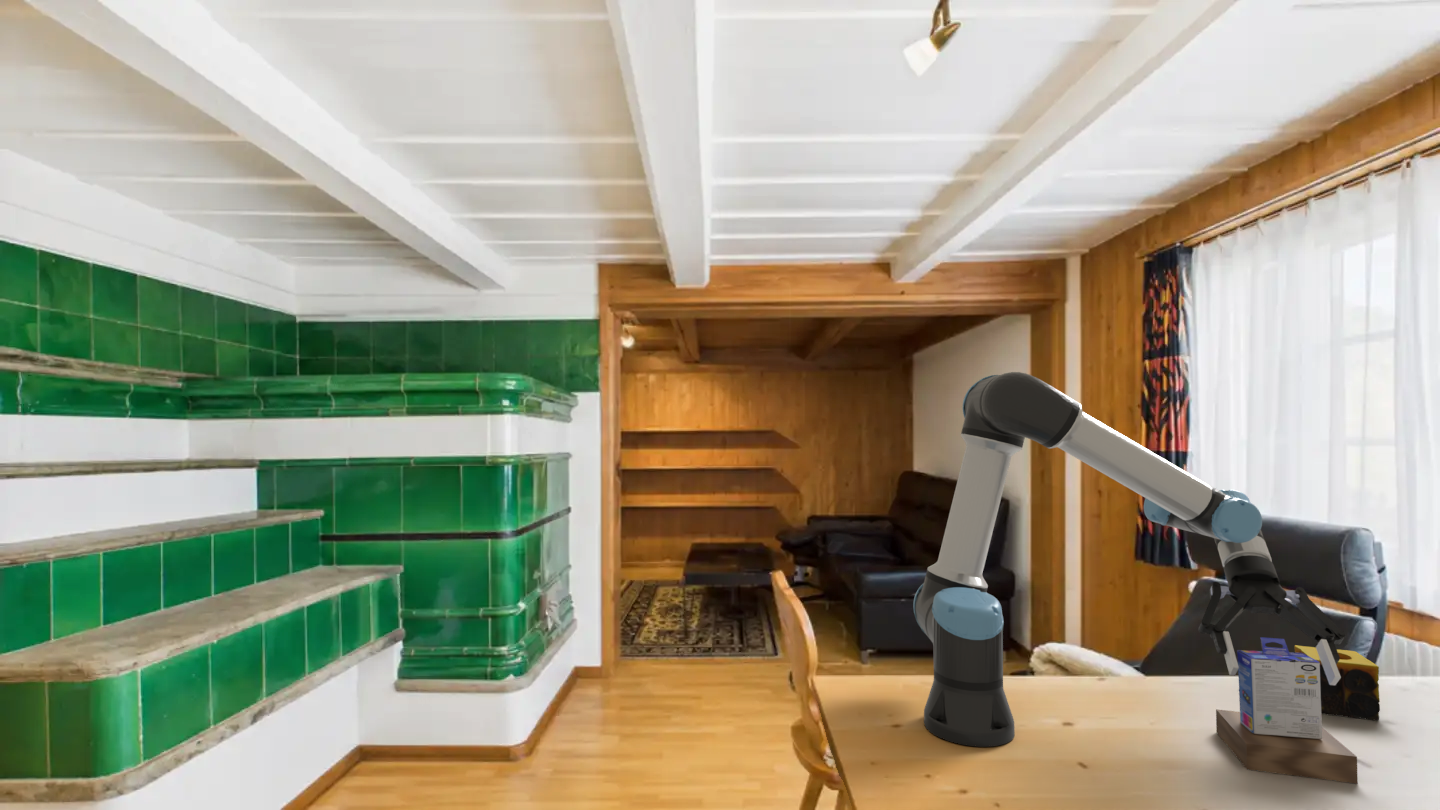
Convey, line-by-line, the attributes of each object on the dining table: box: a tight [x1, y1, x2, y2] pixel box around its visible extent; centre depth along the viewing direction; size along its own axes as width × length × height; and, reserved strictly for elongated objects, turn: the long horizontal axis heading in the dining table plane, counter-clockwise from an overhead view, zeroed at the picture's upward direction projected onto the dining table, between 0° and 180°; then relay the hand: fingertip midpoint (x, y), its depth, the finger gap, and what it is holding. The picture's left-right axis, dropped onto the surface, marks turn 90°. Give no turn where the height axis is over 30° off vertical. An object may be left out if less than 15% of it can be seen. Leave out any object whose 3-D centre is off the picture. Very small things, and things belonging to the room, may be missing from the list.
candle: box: [1294, 644, 1381, 721], centre depth 136 cm, size 10×10×10 cm
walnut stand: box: [1215, 708, 1359, 785], centre depth 116 cm, size 14×14×4 cm
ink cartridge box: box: [1236, 636, 1323, 739], centre depth 116 cm, size 10×6×14 cm, turn 78°
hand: (1283, 676), depth 116 cm, fingers open, 13 cm apart
